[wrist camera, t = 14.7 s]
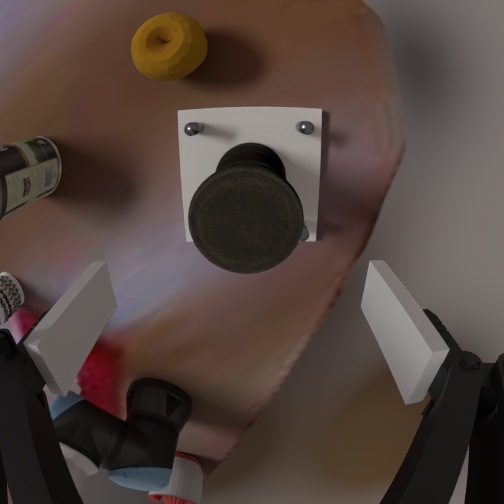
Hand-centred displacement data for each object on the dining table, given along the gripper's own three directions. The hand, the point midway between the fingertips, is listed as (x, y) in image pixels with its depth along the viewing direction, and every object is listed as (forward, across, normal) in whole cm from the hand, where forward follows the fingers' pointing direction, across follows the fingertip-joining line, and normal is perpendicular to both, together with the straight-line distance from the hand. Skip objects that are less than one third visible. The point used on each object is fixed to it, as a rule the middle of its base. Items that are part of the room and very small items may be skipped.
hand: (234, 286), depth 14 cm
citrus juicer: (+28, +22, +82) cm, 90 cm away
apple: (+27, +8, -18) cm, 33 cm away
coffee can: (+28, +34, -5) cm, 44 cm away
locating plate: (+27, 0, -1) cm, 27 cm away
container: (+26, 0, 0) cm, 26 cm away
